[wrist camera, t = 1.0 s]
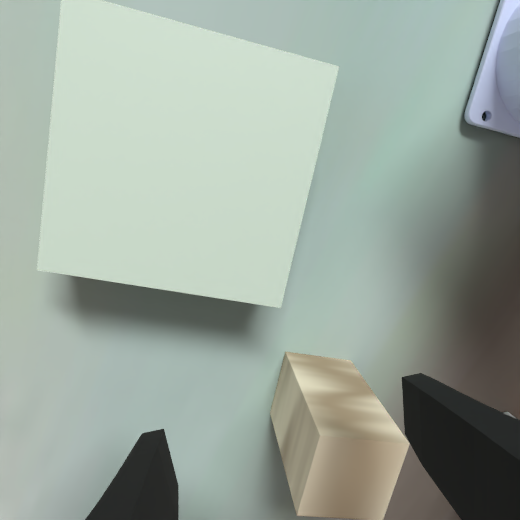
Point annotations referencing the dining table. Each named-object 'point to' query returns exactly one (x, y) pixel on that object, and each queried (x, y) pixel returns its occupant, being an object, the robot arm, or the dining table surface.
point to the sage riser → (177, 155)
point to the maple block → (335, 439)
